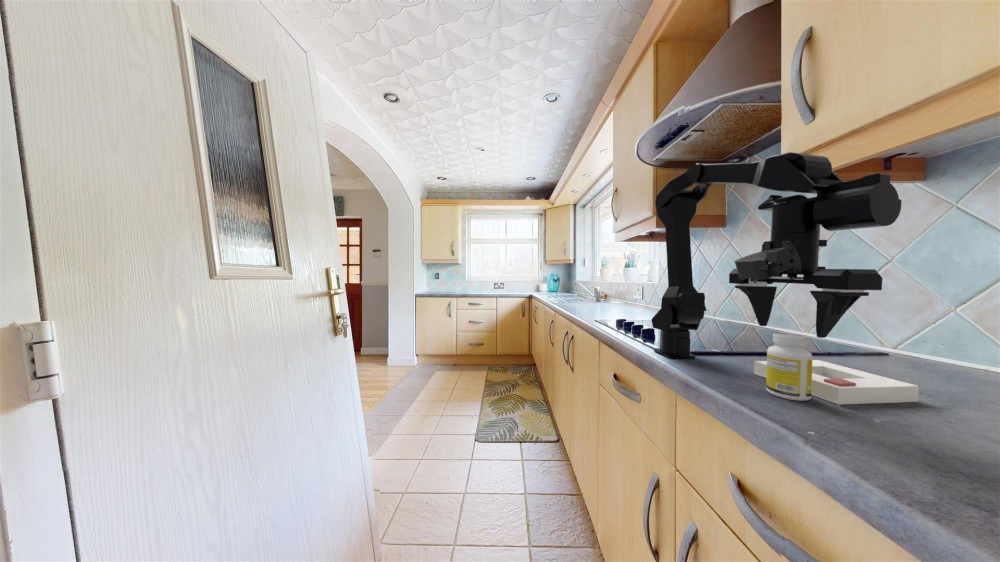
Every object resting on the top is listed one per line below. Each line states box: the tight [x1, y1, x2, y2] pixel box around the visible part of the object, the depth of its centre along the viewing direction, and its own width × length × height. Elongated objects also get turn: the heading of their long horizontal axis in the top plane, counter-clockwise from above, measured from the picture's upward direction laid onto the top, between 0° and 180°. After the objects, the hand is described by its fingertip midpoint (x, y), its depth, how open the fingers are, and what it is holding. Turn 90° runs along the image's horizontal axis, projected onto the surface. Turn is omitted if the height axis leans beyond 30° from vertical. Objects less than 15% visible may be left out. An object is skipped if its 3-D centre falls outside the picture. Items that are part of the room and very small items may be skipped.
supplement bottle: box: [765, 332, 813, 402], centre depth 51 cm, size 5×5×10 cm
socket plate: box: [753, 359, 920, 406], centre depth 55 cm, size 14×14×3 cm
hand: (789, 331), depth 50 cm, fingers open, 9 cm apart
